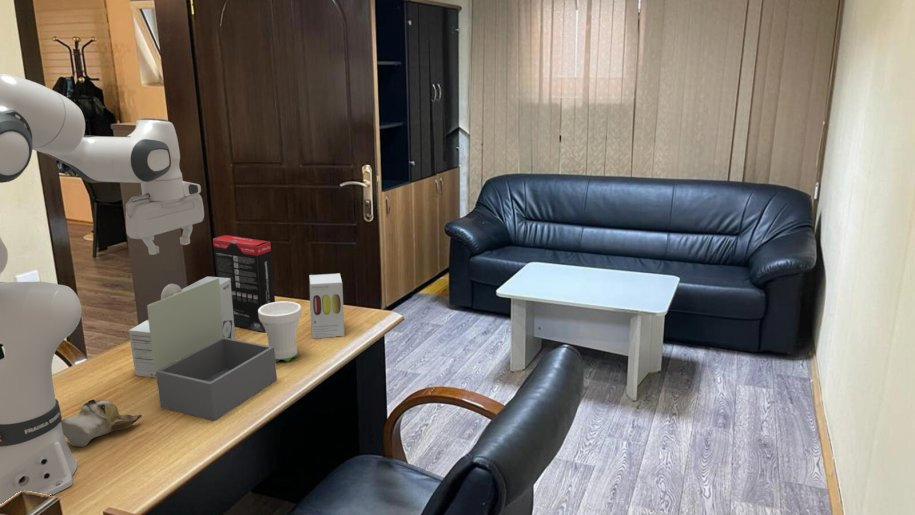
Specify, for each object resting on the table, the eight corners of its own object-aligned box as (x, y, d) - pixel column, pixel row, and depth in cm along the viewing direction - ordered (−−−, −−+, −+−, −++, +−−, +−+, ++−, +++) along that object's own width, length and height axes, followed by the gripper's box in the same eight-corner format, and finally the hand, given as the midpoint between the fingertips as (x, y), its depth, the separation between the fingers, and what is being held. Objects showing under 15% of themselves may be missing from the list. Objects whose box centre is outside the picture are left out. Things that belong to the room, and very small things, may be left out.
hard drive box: (207, 367, 177) (199, 295, 172) (180, 364, 179) (172, 293, 173) (237, 343, 192) (230, 277, 187) (212, 341, 194) (205, 275, 188)
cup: (296, 345, 191) (292, 298, 187) (310, 359, 182) (307, 310, 178) (256, 354, 185) (252, 306, 181) (269, 369, 176) (265, 318, 172)
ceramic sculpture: (43, 407, 139) (109, 381, 152) (48, 445, 141) (112, 416, 154) (78, 419, 134) (142, 391, 147) (82, 458, 136) (144, 428, 149)
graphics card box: (279, 326, 205) (272, 239, 198) (263, 334, 199) (256, 244, 192) (235, 317, 212) (227, 233, 205) (219, 324, 206) (210, 238, 198)
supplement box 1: (152, 363, 179) (146, 319, 176) (177, 366, 178) (172, 321, 174) (134, 376, 172) (127, 329, 169) (160, 378, 171) (154, 332, 167)
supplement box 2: (312, 339, 195) (308, 284, 191) (311, 327, 204) (307, 274, 199) (345, 336, 197) (342, 281, 193) (343, 325, 206) (340, 272, 201)
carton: (214, 420, 151) (210, 384, 148) (160, 407, 157) (155, 371, 154) (276, 380, 170) (274, 347, 168) (226, 369, 176) (223, 337, 174)
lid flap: (148, 302, 149) (131, 298, 151) (155, 371, 154) (138, 366, 156) (218, 274, 169) (202, 271, 171) (223, 337, 174) (207, 333, 175)
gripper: (136, 199, 144) (144, 261, 147) (205, 184, 162) (211, 240, 165) (114, 197, 146) (123, 258, 150) (185, 182, 164) (191, 237, 168)
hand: (170, 249), depth 158 cm, fingers open, 8 cm apart
